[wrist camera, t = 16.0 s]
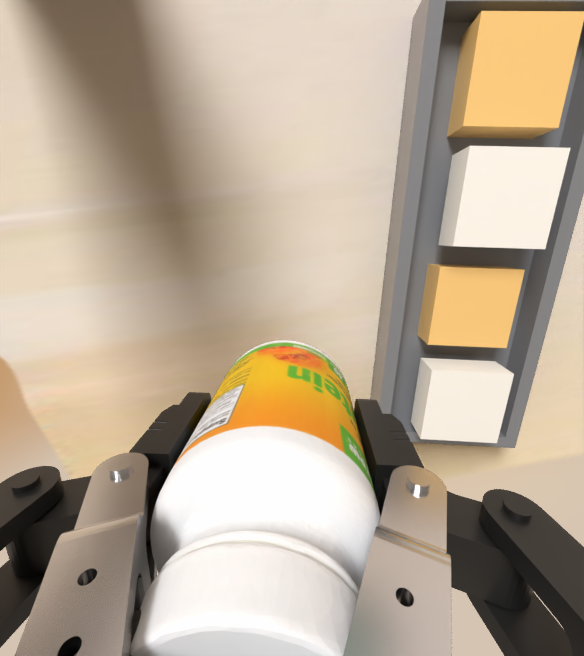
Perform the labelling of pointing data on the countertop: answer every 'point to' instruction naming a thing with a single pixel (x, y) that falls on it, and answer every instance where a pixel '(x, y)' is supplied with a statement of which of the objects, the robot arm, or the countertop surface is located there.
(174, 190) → the countertop surface
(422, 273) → the keypad base
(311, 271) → the countertop surface
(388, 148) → the countertop surface
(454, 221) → the key
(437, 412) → the key
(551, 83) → the key
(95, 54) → the countertop surface
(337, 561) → the supplement bottle
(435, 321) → the key
